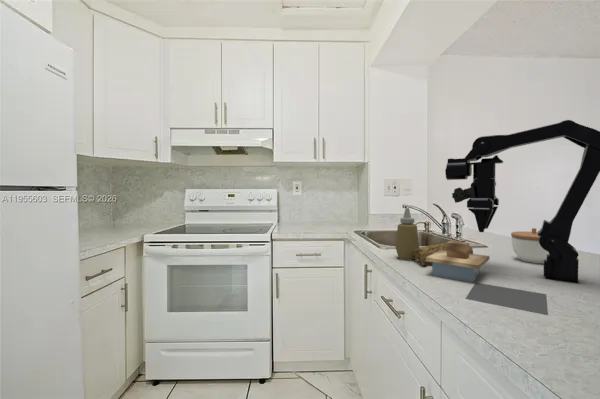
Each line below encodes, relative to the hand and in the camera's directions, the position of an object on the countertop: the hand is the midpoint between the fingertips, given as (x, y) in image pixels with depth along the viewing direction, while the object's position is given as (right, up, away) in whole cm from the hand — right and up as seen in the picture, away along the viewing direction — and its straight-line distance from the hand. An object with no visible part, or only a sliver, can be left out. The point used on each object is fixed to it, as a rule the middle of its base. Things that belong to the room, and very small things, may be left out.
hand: (483, 230), depth 90 cm
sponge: (-7, -12, +9) cm, 17 cm away
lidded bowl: (+23, -12, +10) cm, 28 cm away
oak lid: (-11, -8, -6) cm, 15 cm away
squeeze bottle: (-18, -12, +15) cm, 26 cm away
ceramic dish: (-12, -12, -7) cm, 18 cm away
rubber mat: (-10, -13, -24) cm, 29 cm away
